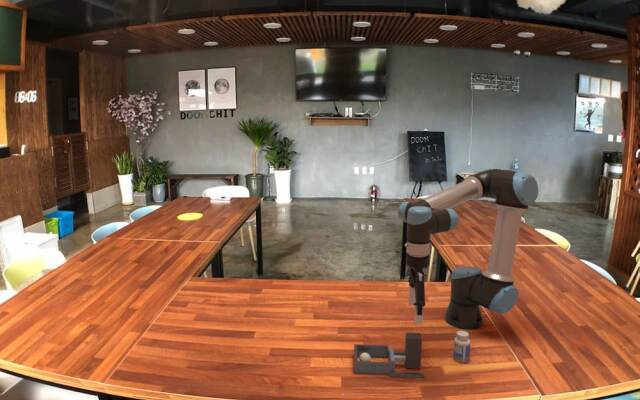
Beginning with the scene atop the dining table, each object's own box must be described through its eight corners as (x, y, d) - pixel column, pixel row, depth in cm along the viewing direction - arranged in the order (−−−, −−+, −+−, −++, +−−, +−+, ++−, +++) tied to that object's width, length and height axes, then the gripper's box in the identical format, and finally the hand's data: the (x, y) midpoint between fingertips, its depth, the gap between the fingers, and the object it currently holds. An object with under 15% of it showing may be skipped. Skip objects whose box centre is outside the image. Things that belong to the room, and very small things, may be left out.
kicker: (417, 358, 157) (419, 329, 155) (421, 372, 148) (423, 342, 146) (388, 357, 158) (389, 328, 155) (390, 371, 149) (392, 341, 147)
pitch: (418, 355, 159) (418, 345, 159) (424, 378, 146) (424, 367, 145) (353, 352, 161) (354, 342, 160) (354, 375, 147) (354, 364, 146)
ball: (364, 362, 156) (372, 356, 155) (364, 369, 152) (373, 362, 151) (356, 354, 156) (365, 348, 155) (356, 361, 152) (365, 354, 151)
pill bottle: (466, 354, 160) (467, 329, 158) (471, 362, 155) (473, 337, 153) (451, 354, 160) (452, 329, 158) (456, 363, 155) (457, 337, 153)
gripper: (401, 242, 158) (400, 298, 163) (411, 266, 134) (409, 331, 138) (423, 242, 158) (420, 298, 162) (436, 266, 133) (433, 331, 138)
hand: (415, 313), depth 150 cm, fingers open, 13 cm apart
